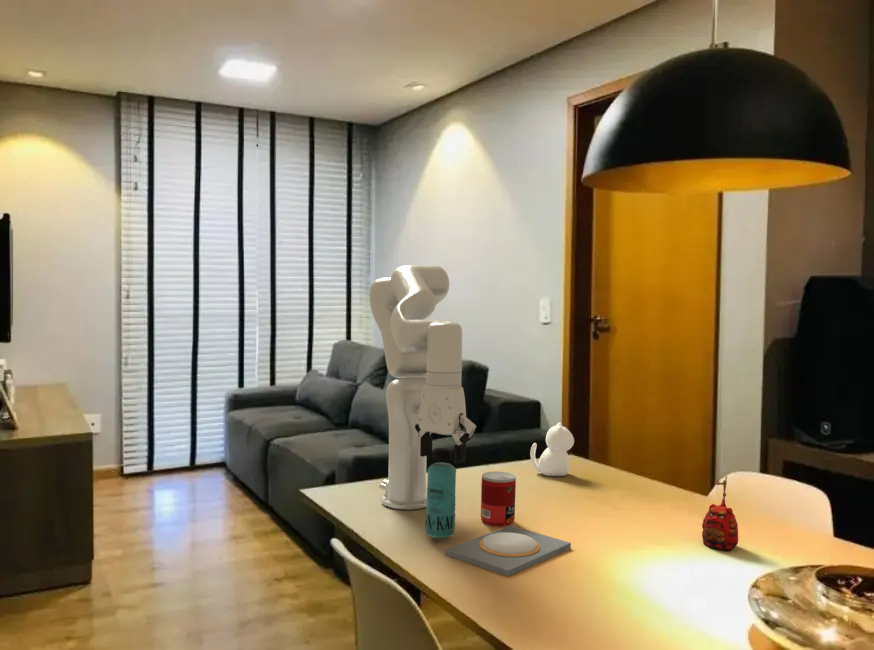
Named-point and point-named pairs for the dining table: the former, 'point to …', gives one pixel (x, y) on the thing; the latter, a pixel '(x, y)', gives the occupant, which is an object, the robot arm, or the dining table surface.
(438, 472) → the beverage bottle
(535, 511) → the dining table surface
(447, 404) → the robot arm
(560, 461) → the cat figurine
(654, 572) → the dining table surface
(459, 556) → the board
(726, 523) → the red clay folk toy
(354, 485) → the dining table surface
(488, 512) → the canned food
